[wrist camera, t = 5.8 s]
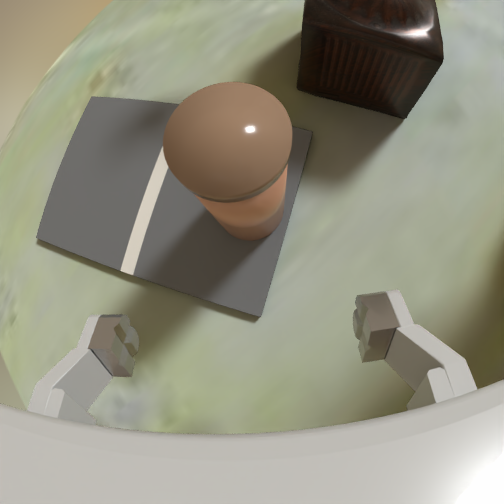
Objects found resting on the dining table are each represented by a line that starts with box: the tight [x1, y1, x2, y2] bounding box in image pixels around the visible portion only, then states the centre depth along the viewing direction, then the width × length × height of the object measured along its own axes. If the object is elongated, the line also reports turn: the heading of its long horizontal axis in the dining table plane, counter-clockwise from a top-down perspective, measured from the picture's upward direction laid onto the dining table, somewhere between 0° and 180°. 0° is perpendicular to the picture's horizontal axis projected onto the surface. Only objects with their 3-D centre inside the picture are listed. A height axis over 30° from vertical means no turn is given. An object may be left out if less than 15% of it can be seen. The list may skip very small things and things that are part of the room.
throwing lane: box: [36, 97, 313, 317], centre depth 25 cm, size 22×15×1 cm
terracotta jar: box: [163, 82, 292, 241], centre depth 18 cm, size 5×5×12 cm
